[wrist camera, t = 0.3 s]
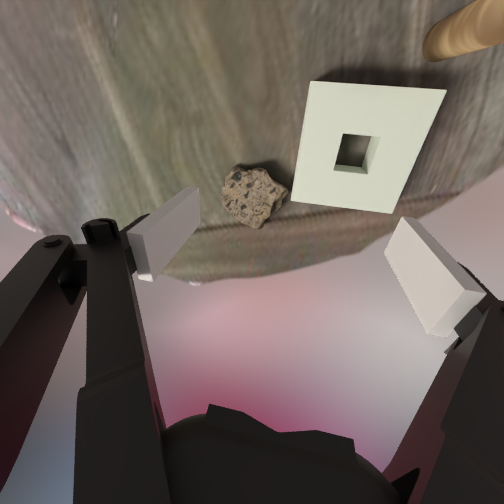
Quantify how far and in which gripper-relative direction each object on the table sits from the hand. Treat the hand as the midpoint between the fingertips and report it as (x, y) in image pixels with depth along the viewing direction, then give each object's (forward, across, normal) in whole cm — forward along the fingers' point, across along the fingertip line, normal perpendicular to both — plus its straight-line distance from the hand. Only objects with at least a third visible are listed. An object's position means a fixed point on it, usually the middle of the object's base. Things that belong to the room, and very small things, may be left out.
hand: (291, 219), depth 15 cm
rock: (+28, -7, -8) cm, 30 cm away
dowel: (+27, +15, +14) cm, 34 cm away
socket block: (+27, +8, +1) cm, 28 cm away
